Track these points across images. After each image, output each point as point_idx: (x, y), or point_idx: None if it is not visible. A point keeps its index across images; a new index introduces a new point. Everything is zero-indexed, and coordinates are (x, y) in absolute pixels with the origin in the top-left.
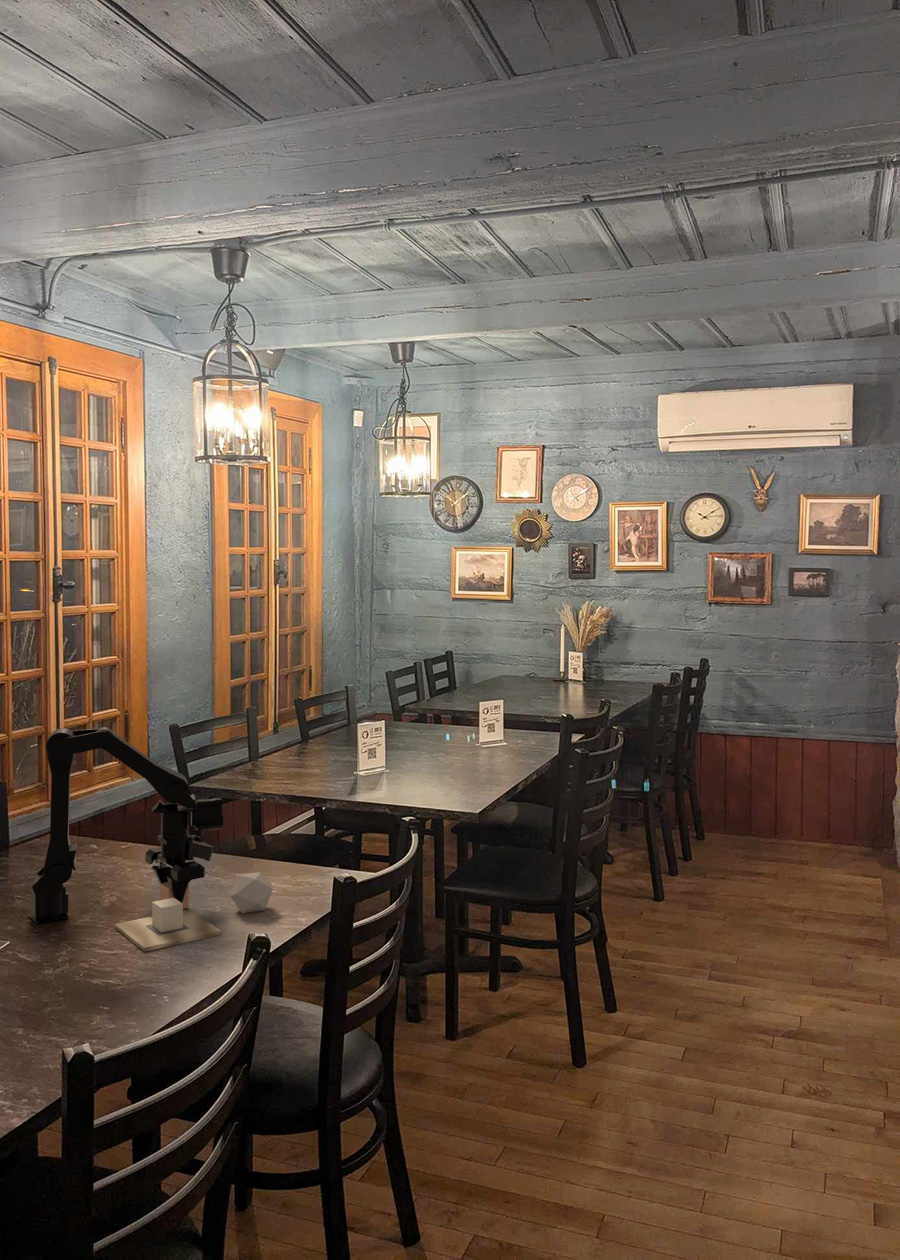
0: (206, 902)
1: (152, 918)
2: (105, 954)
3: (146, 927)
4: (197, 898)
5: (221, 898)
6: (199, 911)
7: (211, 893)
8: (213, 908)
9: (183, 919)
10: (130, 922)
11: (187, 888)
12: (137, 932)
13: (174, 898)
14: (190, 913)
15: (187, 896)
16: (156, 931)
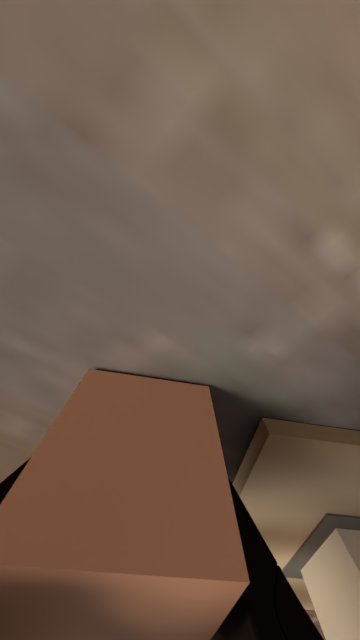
0: (202, 253)
1: (320, 615)
2: (316, 625)
3: (291, 577)
4: (80, 245)
5: (214, 80)
6: (294, 374)
7: (18, 46)
8: (331, 293)
9: (353, 499)
10: None
11: (233, 534)
12: (301, 596)
13: None
14: (328, 455)
15: (218, 452)
16: None
